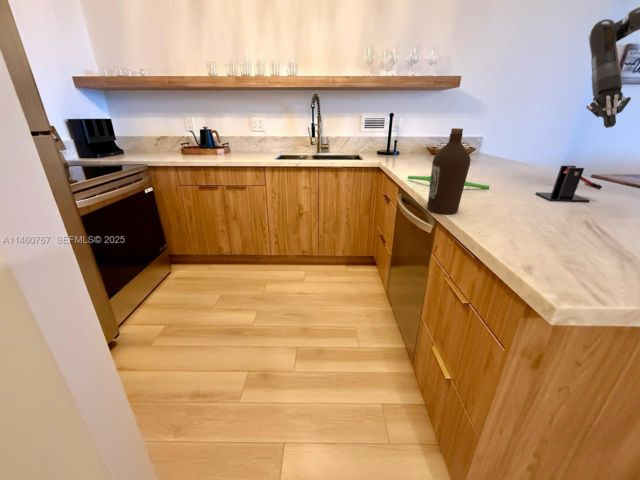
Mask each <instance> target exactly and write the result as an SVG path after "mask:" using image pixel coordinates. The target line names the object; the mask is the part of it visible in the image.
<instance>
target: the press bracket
mask: <svg viewBox="0 0 640 480" xmlns="http://www.w3.org/2000/svg"><path fill="white" fill-rule="evenodd" d="M567 167H569V168H568V171H567V173H566V174H565V173H563V172H564V171H565V169H566V168H567ZM570 167H572V168H570ZM584 170H585V168H584V167H577V166H576V165H560V168H559V170H558V173H557V176H556V180H555V182H554V185H553V188H552V191H551V192H542V191H541V192H538V191H537V192H535V194H534V195H535V196H537V197H539V198H541V199H544V200H545V201H547V202H552V203H553V202H557V203H586V204H587V203H588V204H590V202H591V200H590V199H588V198H586V197H583V196H581V195H577V194H576V191H577V188H578V186H579V183H580V182H581V180H580V178H581V176H582V177H583V173H584Z"/></svg>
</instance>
